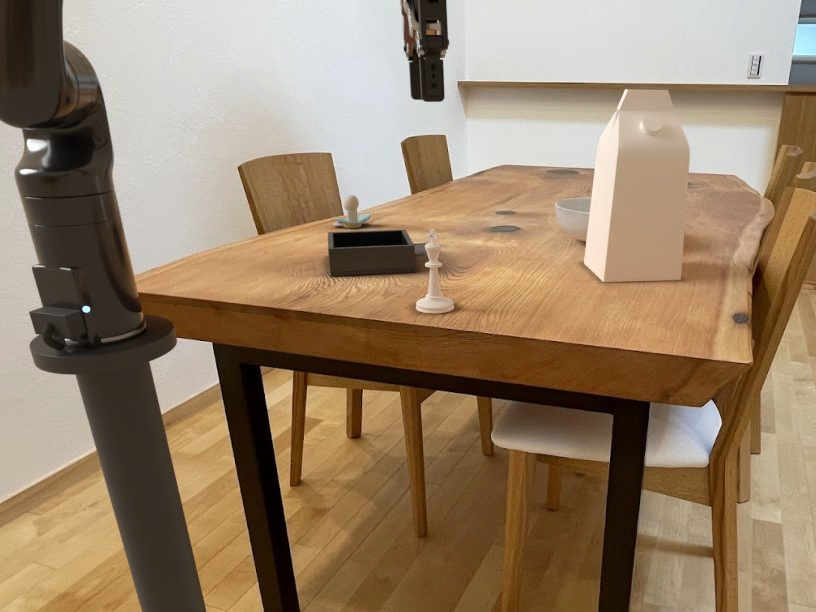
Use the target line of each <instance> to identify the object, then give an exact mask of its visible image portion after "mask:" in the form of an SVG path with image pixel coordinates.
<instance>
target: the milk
mask: <svg viewBox="0 0 816 612" xmlns="http://www.w3.org/2000/svg"><path fill="white" fill-rule="evenodd" d="M690 149H691V148H690V145H689V141H688V138H687V137H686V133H685V131H684V129H683V127H682V125H681V122H680V120H679V118H678V116H677V113H676V112H675V108H674V104H673V101H672V99H671V95H670V91H669V89H638V88H637V89H636V88H635V89H634V88H633V89H630V88H628V89H627V88H626V89H624V91H623V94H622V96H621V99H620V101H619V103H618V105H617V107H616V110H615V111H614V113H613V114H612V117H611V118H610V120H609V122H608V123H607V125H606V127H605V129H604V130H603V132H602V134H601V135H600V138H599V141H598V143H597V148H596V155H595V161H594V162H595V164H594V170H593V181H592V189H591V196H590V197H591V206H590V214H589V223H588V232H587V240H586V242H585V250H584V256H583V257H584V259H583V264H584V265H585V266H586V268H588V270H590V271H591V272H592V273H593V274H594V275H595V276H596V277H597V278H598V279H600V280H601V282H603V283H621V282H622V283H624V282H625V283H627V282H654V281H655V282H657V281H658V282H659V281H661V282H662V281H681V280H682V270H683V255H684V243H685V241H684V240H685V229H686V215H687V203H688V202H687V201H688V189H689V187H688V186H689V174H690V163H691V161H690V160H691V151H690Z"/></svg>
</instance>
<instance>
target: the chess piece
mask: <svg viewBox="0 0 816 612" xmlns="http://www.w3.org/2000/svg"><path fill="white" fill-rule="evenodd" d="M425 238H426V239H429V240H430V241H429V242H428V243H426V244H425V245H424V250H425V252H426V255H427V258H428V261H426V262H425V264H424V266H425V268H429V277H428V289H427V293H426V294H425V297H421V298H420V299H418V300H417V301H416V303H415V310H416V311H418V312H420V313H423V314H434V315H437V314H444V313H449V312H451V311H453V310H454V309H455V305H454V304H455V302H454V300H453V299H451V298H449V297H446V296H444V294H443V293H442V289H441V285H440V283H441V282H440V277H439V270H438V268H441V267H442V266H443V263H442V262H440V261H439V260H438V259H439V257H440V252H441V248H442V245H441V244H440V243H437V242H436V240H439V239H440V234H436V229H434V228H429V233H426V234H425Z"/></svg>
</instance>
